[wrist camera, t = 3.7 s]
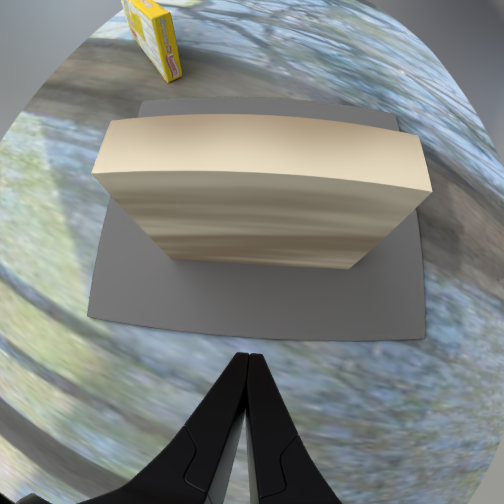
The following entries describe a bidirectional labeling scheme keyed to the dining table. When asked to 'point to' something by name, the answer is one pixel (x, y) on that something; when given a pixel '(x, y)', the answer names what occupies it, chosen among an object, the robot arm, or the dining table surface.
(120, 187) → the birch tile
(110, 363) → the dining table surface
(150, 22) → the candy box
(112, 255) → the mat
